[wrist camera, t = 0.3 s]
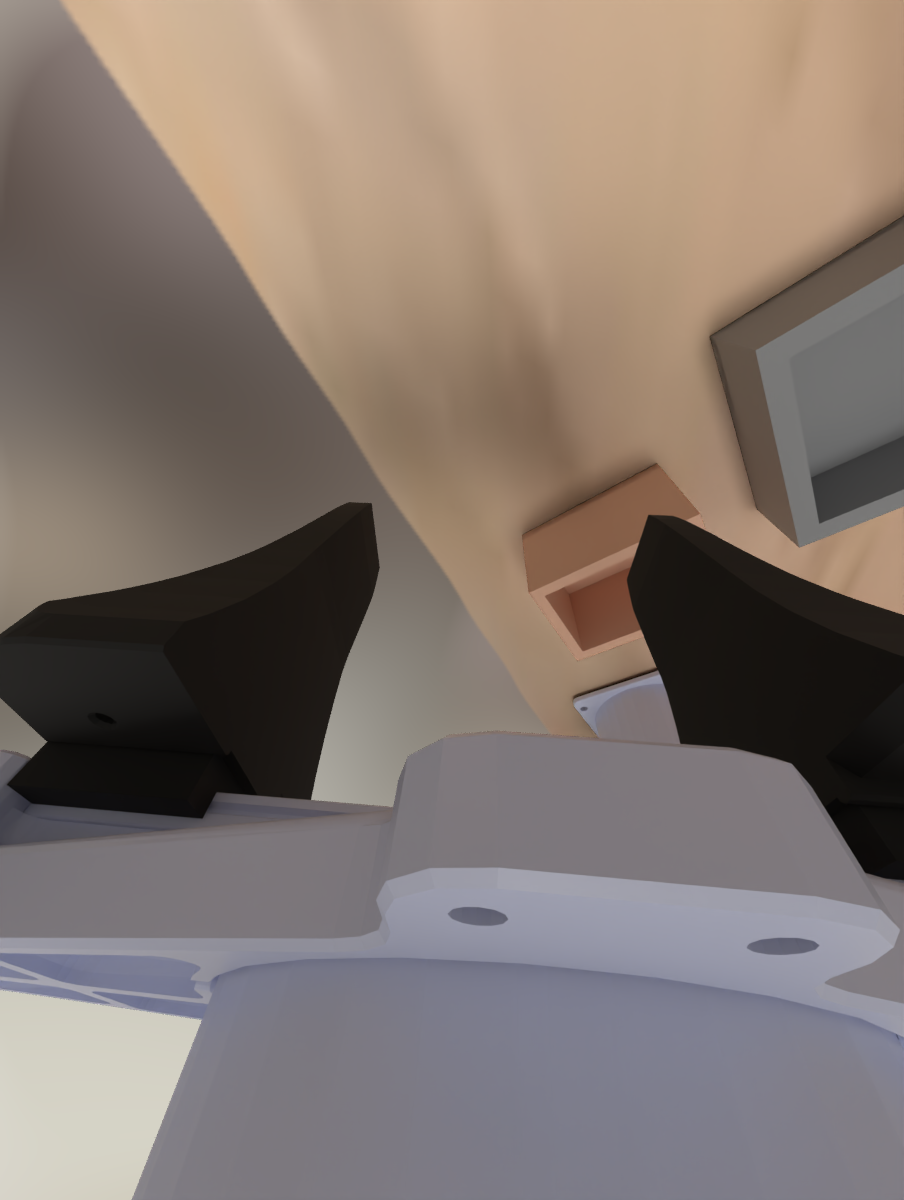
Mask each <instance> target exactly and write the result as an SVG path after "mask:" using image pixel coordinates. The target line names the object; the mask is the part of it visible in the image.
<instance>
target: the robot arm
mask: <svg viewBox="0 0 904 1200" xmlns="http://www.w3.org/2000/svg"><path fill="white" fill-rule="evenodd" d="M379 568H380V567H379V559H378V552H377V543H376V535H375V527H374V519H373V511H372V504H371V503H352V502H349V503H346V504H344V505H342V506H340V507H337V508H336V509H334V510H332V511H330V512H328V513H326V514H325V515H323V516H321V517H320V518H318V519H316V520H314V521H313V522H311V523H309V524H307V525H305V526H303V527H302V528H300V529H298V530H296V531H294V532H292V533H290V534H288V535H286V536H284V537H282V538H280V539H278V540H277V541H274V542H272V543H270V544H268V545H266V546H264V547H262V548H259V549H257V550H255V551H253V552H250V553H248V554H245V555H242V556H240V557H237V558H235V559H232V560H230V561H227V562H224V563H221V564H218V565H214V566H211V567H208V568H205V569H202V570H199V571H195V572H192V573H189V574H186V575H182V576H178V577H174V578H170V579H166V580H163V581H158V582H154V583H150V584H145V585H140V586H136V587H132V588H126V589H121V590H116V591H110V592H104V593H98V594H92V595H86V596H79V597H73V598H67V599H61V600H53V601H48V602H46V603H43V604H42V605H40V606H38V607H37V608H35V609H34V610H33V611H31V612H30V613H29V614H27V615H26V616H24V617H23V618H22V619H20V620H19V621H18V622H16V623H15V624H14V625H12V626H11V627H9V628H8V629H7V630H5V631H4V632H2V633H1V634H0V698H1V699H2V700H3V701H4V702H5V703H6V704H7V705H8V706H10V707H11V708H12V709H13V710H14V711H15V712H16V713H17V714H18V715H19V716H20V717H21V718H22V719H23V720H25V721H26V722H27V723H28V724H29V725H30V726H31V727H32V728H33V729H34V730H35V731H36V732H37V733H38V734H39V735H41V736H42V737H43V738H44V739H45V740H46V741H48V742H47V743H46V744H45V745H44V746H43V747H42V748H41V749H40V750H39V751H38V752H37V753H36V754H35V755H34V756H33V757H32V759H31V758H30V757H28V756H25V755H23V754H20V753H18V752H13V751H8V750H0V990H5V991H11V992H19V993H26V994H32V995H40V996H46V997H53V998H60V999H66V1000H74V1001H80V1002H87V1003H93V1004H100V1005H106V1006H113V1007H120V1008H126V1009H133V1010H140V1011H147V1012H153V1013H159V1014H166V1015H173V1016H179V1017H186V1018H192V1019H199V1020H202V1021H201V1024H200V1027H199V1029H198V1032H197V1034H196V1037H195V1039H194V1042H193V1044H192V1047H191V1050H190V1052H189V1055H188V1057H187V1060H186V1062H185V1065H184V1068H183V1070H182V1073H181V1075H180V1078H179V1080H178V1083H177V1085H176V1088H175V1091H174V1093H173V1096H172V1098H171V1101H170V1103H169V1106H168V1108H167V1111H166V1114H165V1116H164V1119H163V1121H162V1124H161V1127H160V1129H159V1132H158V1134H157V1137H156V1139H155V1142H154V1144H153V1147H152V1149H151V1152H150V1155H149V1157H148V1160H147V1162H146V1165H145V1167H144V1170H143V1172H142V1175H141V1178H140V1180H139V1183H138V1186H137V1188H136V1191H135V1193H134V1196H133V1198H132V1200H904V615H902V614H898V613H895V612H892V611H889V610H886V609H883V608H880V607H877V606H874V605H871V604H868V603H865V602H862V601H859V600H856V599H853V598H850V597H847V596H845V595H842V594H839V593H836V592H834V591H831V590H829V589H826V588H824V587H821V586H819V585H816V584H814V583H811V582H809V581H806V580H804V579H801V578H799V577H797V576H795V575H792V574H790V573H788V572H786V571H783V570H781V569H779V568H777V567H775V566H773V565H771V564H769V563H767V562H765V561H763V560H760V559H758V558H756V557H755V556H753V555H751V554H749V553H747V552H745V551H743V550H741V549H739V548H737V547H735V546H733V545H732V544H730V543H728V542H726V541H724V540H722V539H720V538H719V537H717V536H715V535H713V534H711V533H709V532H707V531H705V530H704V529H702V528H700V527H698V526H696V525H694V524H692V523H690V522H688V521H685V520H683V519H681V518H678V517H675V516H667V515H648V517H647V520H646V523H645V526H644V529H643V532H642V535H641V538H640V541H639V544H638V547H637V550H636V553H635V556H634V559H633V562H632V565H631V568H630V571H629V574H628V577H627V585H628V589H629V594H630V599H631V603H632V607H633V611H634V613H635V616H636V618H637V621H638V623H639V626H640V628H641V631H642V633H643V636H644V638H645V640H646V643H647V645H648V647H649V650H650V652H651V655H652V657H653V659H654V662H655V664H656V667H657V669H658V671H655V672H652V673H649V674H646V675H643V676H640V677H637V678H634V679H631V680H628V681H625V682H622V683H619V684H616V685H613V686H610V687H606V688H603V689H600V690H597V691H594V692H591V693H588V694H585V695H582V696H579V697H577V698H575V699H574V700H573V704H574V707H575V708H576V709H577V711H578V712H579V713H580V715H581V716H582V717H583V718H584V720H585V721H586V722H587V723H588V725H589V726H590V727H591V728H592V730H593V731H594V732H595V734H596V735H597V736H598V737H599V738H590V737H576V736H562V735H548V734H533V733H521V732H506V731H487V732H476V733H463V734H451V735H448V736H446V737H444V738H442V739H440V740H438V741H436V742H434V743H432V744H430V745H428V746H426V747H424V748H422V749H420V750H418V751H416V752H414V753H413V754H411V755H409V756H408V757H407V759H406V762H405V765H404V767H403V770H402V772H401V775H400V777H399V780H398V785H397V791H396V796H395V801H394V806H393V807H387V806H374V805H362V804H351V803H339V802H327V801H315V800H311V796H312V791H313V787H314V782H315V777H316V773H317V768H318V764H319V760H320V755H321V751H322V747H323V742H324V738H325V734H326V730H327V726H328V722H329V718H330V714H331V711H332V707H333V703H334V699H335V696H336V692H337V689H338V685H339V681H340V678H341V674H342V671H343V668H344V665H345V663H346V660H347V657H348V655H349V652H350V650H351V647H352V645H353V643H354V640H355V638H356V636H357V633H358V631H359V628H360V626H361V624H362V621H363V619H364V616H365V614H366V611H367V609H368V606H369V604H370V602H371V599H372V596H373V593H374V589H375V585H376V581H377V576H378V572H379Z"/></svg>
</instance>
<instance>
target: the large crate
mask: <svg viewBox="0 0 904 1200" xmlns="http://www.w3.org/2000/svg"><path fill="white" fill-rule="evenodd" d="M710 339H711V343H712V346H713V350H714V354H715V357H716V361H717V365H718V368H719V372H720V376H721V379H722V383H723V387H724V390H725V394H726V397H727V401H728V405H729V408H730V412H731V416H732V419H733V423H734V427H735V430H736V434H737V438H738V441H739V445H740V449H741V452H742V456H743V460H744V463H745V467H746V471H747V474H748V478H749V481H750V485H751V489H752V492H753V496H754V500H755V503H756V507H757V510H758V511H759V512H760V513H762V514H763V515H764V516H765V517H766V518H767V519H768V520H769V521H770V522H772V523H773V524H774V525H775V526H776V527H777V528H778V529H779V530H780V531H781V532H783V533H784V534H785V535H786V536H787V537H788V538H789V539H790V540H791V541H793V542H794V543H795V544H796V545H797V546H798V547H802V546H805V545H807V544H810V543H812V542H815V541H817V540H820V539H822V538H825V537H827V536H830V535H832V534H835V533H837V532H840V531H843V530H845V529H848V528H850V527H853V526H855V525H858V524H860V523H863V522H865V521H868V520H870V519H873V518H875V517H878V516H881V515H883V514H886V513H888V512H891V511H893V510H896V509H898V508H901V507H903V506H904V216H903V217H901V218H900V219H898V220H896V221H895V222H893V223H892V224H890V225H888V226H887V227H885V228H884V229H882V230H880V231H879V232H877V233H876V234H874V235H872V236H871V237H869V238H867V239H866V240H864V241H863V242H861V243H859V244H858V245H856V246H855V247H853V248H851V249H850V250H848V251H847V252H845V253H843V254H842V255H840V256H839V257H837V258H835V259H834V260H832V261H830V262H829V263H827V264H826V265H824V266H822V267H821V268H819V269H818V270H816V271H814V272H813V273H811V274H810V275H808V276H806V277H805V278H803V279H802V280H800V281H798V282H797V283H795V284H793V285H792V286H790V287H789V288H787V289H785V290H784V291H782V292H781V293H779V294H777V295H776V296H774V297H773V298H771V299H769V300H768V301H766V302H765V303H763V304H761V305H760V306H758V307H756V308H755V309H753V310H752V311H750V312H748V313H747V314H745V315H744V316H742V317H740V318H739V319H737V320H736V321H734V322H732V323H731V324H729V325H728V326H726V327H724V328H723V329H721V330H719V331H718V332H716V333H715V334H713V335H711V336H710Z"/></svg>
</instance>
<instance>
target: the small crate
mask: <svg viewBox="0 0 904 1200" xmlns="http://www.w3.org/2000/svg"><path fill="white" fill-rule="evenodd" d="M648 515H667V516H675V517H678V518H681V519H683V520H685V521H688V522H690V523H692V524H694V525H696V526H698V527H700V528H702V529H704V530H705V531H706V529H705V526H704V523H703V520H702V518H701V515H700V513H699V512H698V511H697V510H696V508H695V507H694V506H693V505H692V504H691V503H690V501H689V500H688V499H687V498H686V497H685V495H684V494H683V493H682V492H681V491H680V490H679V488H678V487H677V486H676V485H675V484H674V483H673V481H672V480H671V479H670V478H669V477H668V476H667V474H666V473H665V472H664V471H663V470H662V469H661V467H660V466H659V465H658V464H655V465H653V466H651V467H650V468H648V469H646V470H644V471H642V472H640V473H638V474H636V475H634V476H633V477H631V478H629V479H627V480H625V481H623V482H621V483H619V484H617V485H616V486H614V487H612V488H610V489H608V490H606V491H604V492H602V493H601V494H599V495H597V496H595V497H593V498H591V499H589V500H587V501H585V502H584V503H582V504H580V505H578V506H576V507H574V508H572V509H570V510H568V511H567V512H565V513H563V514H561V515H559V516H557V517H555V518H553V519H551V520H550V521H548V522H546V523H544V524H542V525H540V526H538V527H536V528H535V529H533V530H531V531H529V532H527V533H525V534H523V535H522V539H523V548H524V556H525V565H526V573H527V582H528V591H529V594H530V595H531V597H532V598H533V600H534V601H535V602H536V604H537V605H538V607H539V608H540V610H541V611H542V612H543V614H544V615H545V617H546V618H547V619H548V621H549V622H550V624H551V625H552V626H553V628H554V629H555V631H556V632H557V633H558V635H559V636H560V638H561V639H562V640H563V642H564V643H565V645H566V646H567V647H568V649H569V650H570V652H571V653H572V654H573V656H574V657H575V659H576V660H577V661H580V660H582V659H585V658H588V657H591V656H593V655H596V654H599V653H601V652H604V651H607V650H610V649H612V648H615V647H618V646H620V645H623V644H626V643H629V642H631V641H634V640H637V639H640V638H642V637H644V636H643V633H642V631H641V628H640V626H639V623H638V621H637V618H636V616H635V613H634V611H633V607H632V603H631V599H630V594H629V589H628V585H627V577H628V574H629V571H630V568H631V565H632V562H633V559H634V556H635V553H636V550H637V547H638V544H639V541H640V538H641V535H642V532H643V529H644V526H645V523H646V520H647V517H648Z"/></svg>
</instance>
